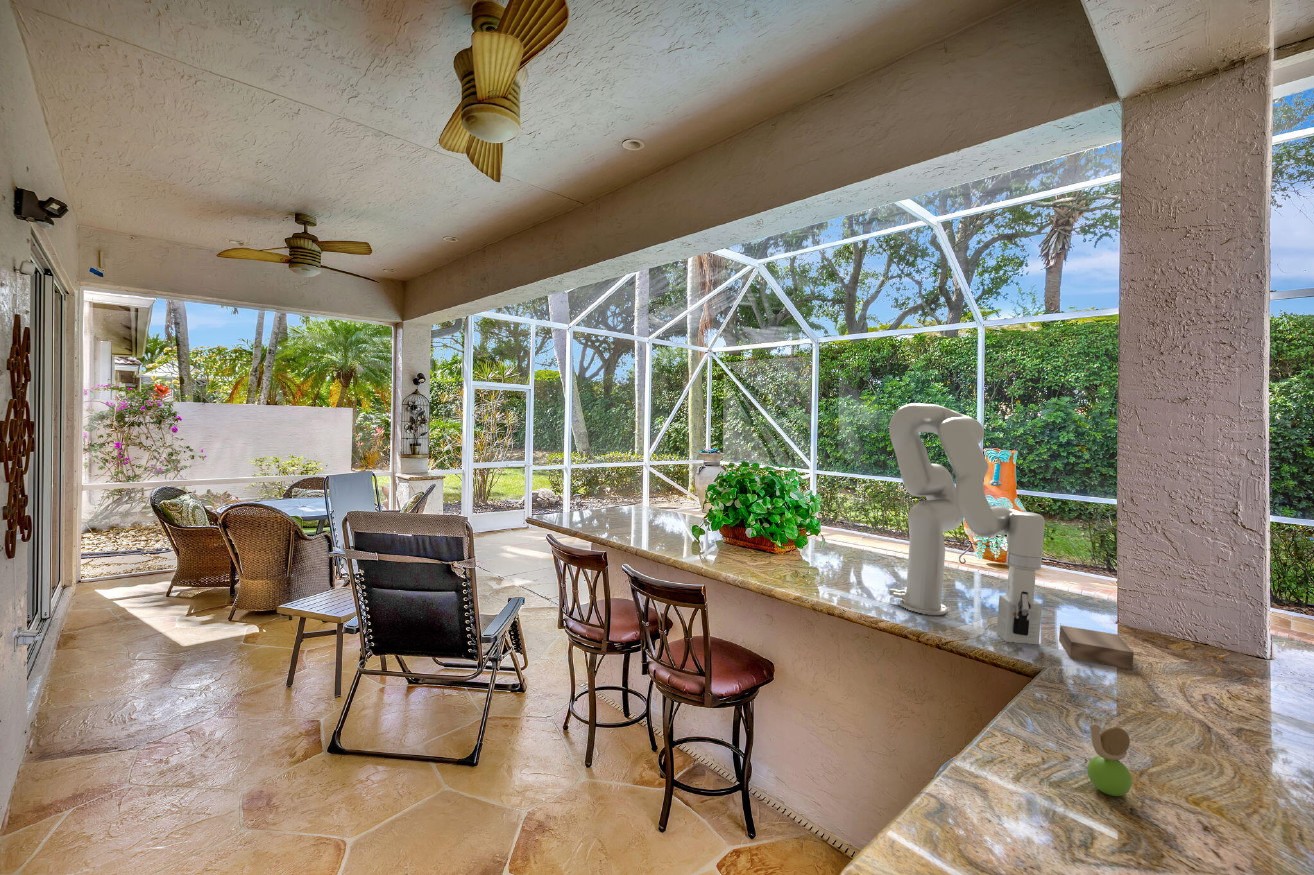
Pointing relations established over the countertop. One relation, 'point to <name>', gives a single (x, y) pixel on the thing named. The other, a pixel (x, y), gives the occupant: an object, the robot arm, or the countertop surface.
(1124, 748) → the snail figurine
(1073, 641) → the walnut plinth
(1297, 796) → the countertop surface
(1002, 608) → the small box
